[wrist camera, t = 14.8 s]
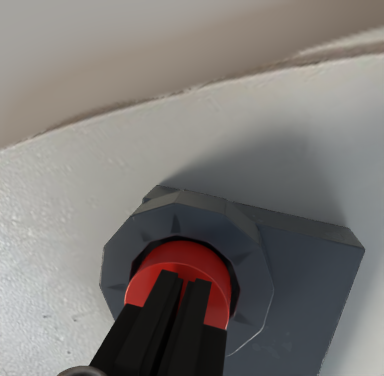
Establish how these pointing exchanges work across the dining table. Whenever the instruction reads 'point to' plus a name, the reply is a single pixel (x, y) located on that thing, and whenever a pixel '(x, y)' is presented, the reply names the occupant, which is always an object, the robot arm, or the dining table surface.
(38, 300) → the dining table surface
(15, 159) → the dining table surface
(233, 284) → the button box
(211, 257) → the plunger
